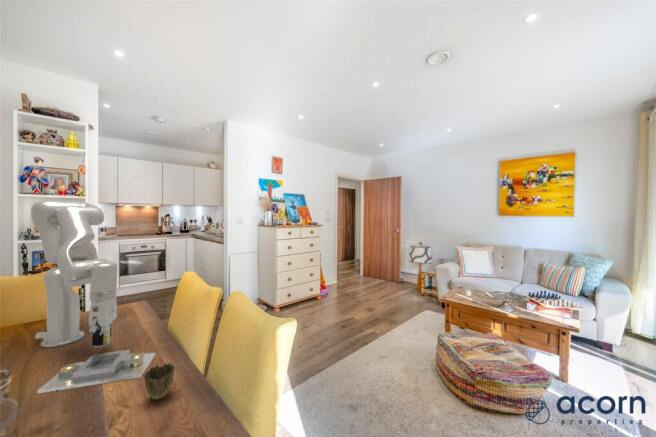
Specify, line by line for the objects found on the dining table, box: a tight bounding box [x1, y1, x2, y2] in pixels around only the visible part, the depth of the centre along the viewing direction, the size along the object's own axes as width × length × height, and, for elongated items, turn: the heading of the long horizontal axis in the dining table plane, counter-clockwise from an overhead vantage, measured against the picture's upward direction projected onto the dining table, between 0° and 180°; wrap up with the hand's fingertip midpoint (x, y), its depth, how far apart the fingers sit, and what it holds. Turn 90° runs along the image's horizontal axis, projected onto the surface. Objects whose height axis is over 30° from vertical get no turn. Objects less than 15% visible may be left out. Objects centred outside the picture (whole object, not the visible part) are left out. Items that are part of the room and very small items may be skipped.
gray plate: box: [36, 349, 156, 395], centre depth 85 cm, size 26×14×4 cm, turn 108°
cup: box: [143, 362, 175, 401], centre depth 73 cm, size 8×7×8 cm
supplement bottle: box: [93, 324, 111, 348], centre depth 95 cm, size 5×5×8 cm
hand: (101, 340), depth 95 cm, fingers closed on supplement bottle, 4 cm apart
